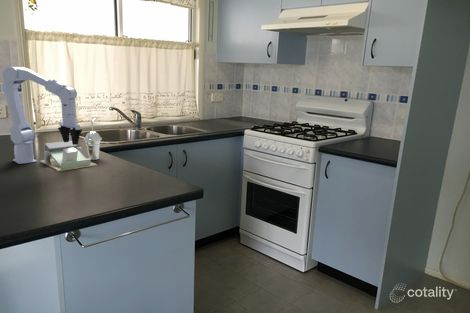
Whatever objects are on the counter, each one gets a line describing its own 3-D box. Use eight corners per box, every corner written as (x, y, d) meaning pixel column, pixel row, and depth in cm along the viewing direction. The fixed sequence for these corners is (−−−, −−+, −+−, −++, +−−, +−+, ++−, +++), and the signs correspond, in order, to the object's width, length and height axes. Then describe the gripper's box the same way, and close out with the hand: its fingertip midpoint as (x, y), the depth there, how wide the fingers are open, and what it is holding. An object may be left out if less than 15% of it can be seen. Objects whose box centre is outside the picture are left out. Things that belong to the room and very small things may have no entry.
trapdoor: (44, 151, 183) (44, 143, 182) (71, 148, 192) (72, 140, 191) (61, 171, 171) (62, 163, 169) (89, 167, 180) (90, 159, 178)
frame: (40, 161, 183) (39, 149, 181) (76, 156, 195) (76, 145, 194) (58, 171, 168) (57, 158, 166) (96, 165, 180) (96, 152, 179)
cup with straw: (81, 159, 191) (78, 119, 186) (95, 155, 199) (93, 117, 194) (93, 161, 187) (91, 120, 182) (107, 157, 195) (105, 118, 190)
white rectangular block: (62, 159, 176) (62, 148, 173) (73, 157, 179) (73, 147, 177) (66, 163, 173) (66, 152, 171) (76, 161, 177) (77, 151, 175)
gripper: (52, 113, 175) (54, 142, 178) (69, 116, 167) (71, 146, 170) (66, 112, 181) (68, 140, 184) (84, 115, 172) (85, 144, 175)
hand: (70, 143), depth 177 cm, fingers open, 7 cm apart
